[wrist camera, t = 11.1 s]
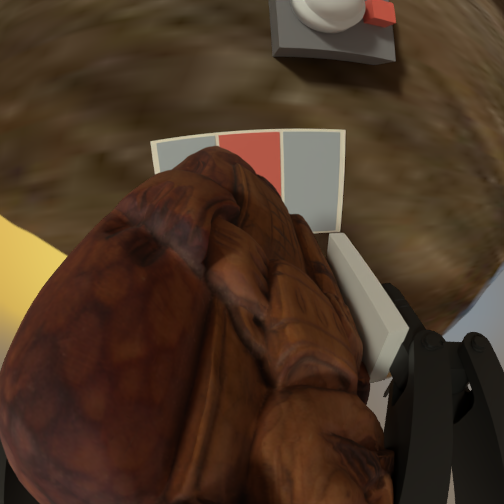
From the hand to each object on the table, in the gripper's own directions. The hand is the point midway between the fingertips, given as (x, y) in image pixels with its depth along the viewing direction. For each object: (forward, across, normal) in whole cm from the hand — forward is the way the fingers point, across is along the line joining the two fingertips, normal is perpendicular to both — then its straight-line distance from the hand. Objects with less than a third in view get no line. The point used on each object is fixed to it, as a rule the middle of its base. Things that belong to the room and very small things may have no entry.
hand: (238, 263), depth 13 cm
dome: (+14, +9, +18) cm, 25 cm away
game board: (+20, +2, -2) cm, 20 cm away
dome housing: (+20, +10, +18) cm, 29 cm away
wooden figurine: (+4, 0, 0) cm, 4 cm away
